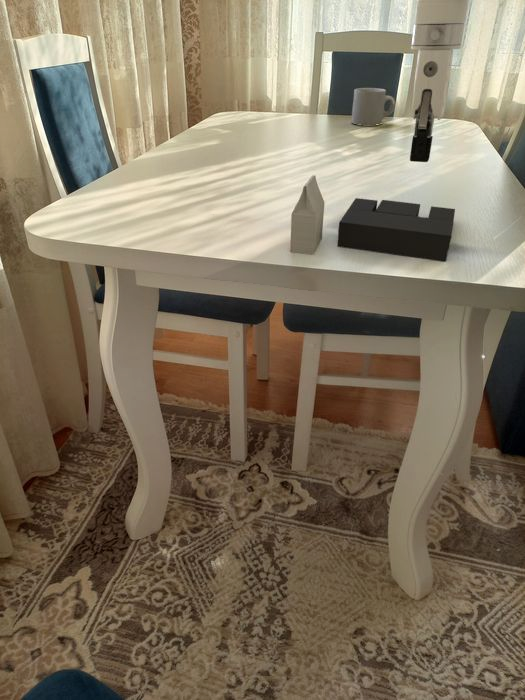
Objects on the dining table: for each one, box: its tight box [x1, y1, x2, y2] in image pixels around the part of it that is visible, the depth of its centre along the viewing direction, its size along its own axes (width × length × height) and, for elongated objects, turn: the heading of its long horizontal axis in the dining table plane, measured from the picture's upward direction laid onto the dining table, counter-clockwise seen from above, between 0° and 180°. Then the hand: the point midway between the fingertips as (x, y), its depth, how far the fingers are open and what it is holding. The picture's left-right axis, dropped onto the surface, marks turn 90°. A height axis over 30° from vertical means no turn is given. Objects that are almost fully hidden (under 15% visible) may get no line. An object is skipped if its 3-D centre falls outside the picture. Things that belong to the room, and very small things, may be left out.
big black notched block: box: [336, 197, 456, 262], centre depth 79 cm, size 16×13×4 cm
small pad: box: [375, 199, 421, 217], centre depth 82 cm, size 6×6×4 cm
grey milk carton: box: [289, 174, 326, 255], centre depth 75 cm, size 4×7×10 cm, turn 164°
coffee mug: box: [350, 87, 396, 125], centre depth 160 cm, size 13×10×10 cm
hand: (419, 160), depth 87 cm, fingers closed
